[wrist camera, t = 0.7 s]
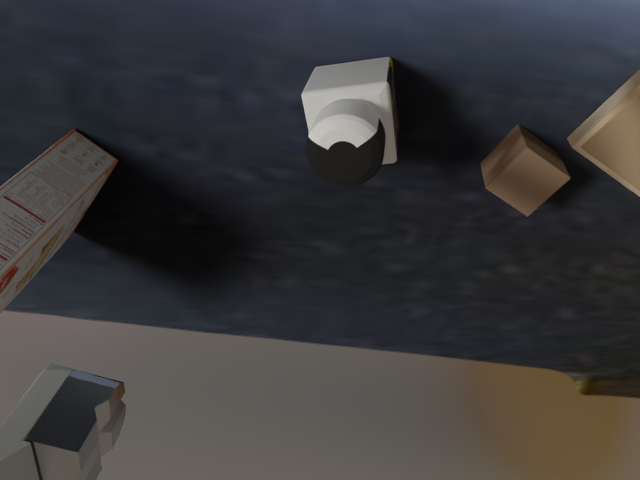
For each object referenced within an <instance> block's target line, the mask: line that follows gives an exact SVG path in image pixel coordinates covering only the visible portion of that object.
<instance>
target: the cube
mask: <svg viewBox="0 0 640 480" xmlns="http://www.w3.org/2000/svg"><path fill="white" fill-rule="evenodd" d="M480 165H481V170H482V174H483V179H484V183H485V188H486V189H487V190H489V191H490V192H492V193H493V194H495V195H496V196H498V197H499V198H501V199H502V200H504V201H505V202H507V203H508V204H510V205H511V206H513V207H514V208H516V209H517V210H519V211H520V212H521V213H523V214H524V215H526V216H527V217H528V216H529V215H530V214H531V213H532V212H533V211H534V210H536V209H537V208H538V207H539V206H540V205H541V204H542V203H543V202H545V201H546V200H547V199H548V198H549V197H550V196H551V195H552V194H554V193H555V192H556V191H557V190H558V189H559V188H560V187H561V186H563V185H564V184H565V183H566V182H567V181H568V180H569V179H570V176H569V174H568V172H567V170H566V168H565V166H564V164H563V162H562V160H561V158H560V156H559V154H558V152H556V151H555V150H553V149H552V148H551V147H549V146H548V145H546V144H545V143H544V142H542V141H541V140H539V139H538V138H537V137H535V136H534V135H532V134H531V133H530V132H528V131H527V130H526V129H524V128H523V127H521V126H520V125H519V124H517V125H516V126H515V127H514V128H513V129H512V130H511V131H510V133H509V134H508V135H507V136H506V137H505V138H504V139H503V140H502V141H501V142H500V143H499V144H498V145H497V146H496V147H495V148H494V149H493V150H492V151H491V152H490V153H489V154H488V155H487V156H486V158H485V159H484V160H483V161H482V162H481V163H480Z"/></svg>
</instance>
